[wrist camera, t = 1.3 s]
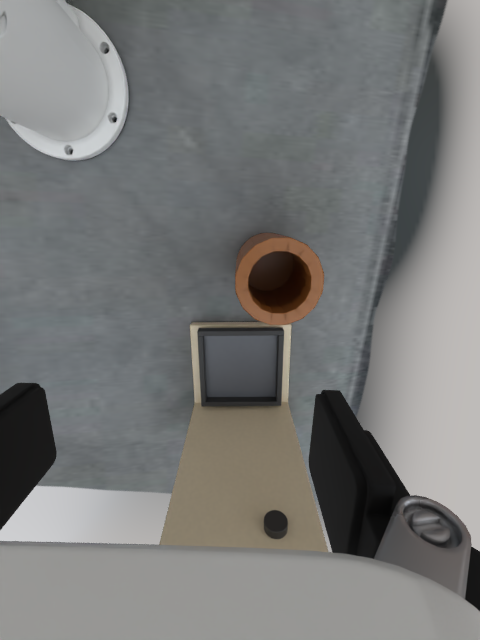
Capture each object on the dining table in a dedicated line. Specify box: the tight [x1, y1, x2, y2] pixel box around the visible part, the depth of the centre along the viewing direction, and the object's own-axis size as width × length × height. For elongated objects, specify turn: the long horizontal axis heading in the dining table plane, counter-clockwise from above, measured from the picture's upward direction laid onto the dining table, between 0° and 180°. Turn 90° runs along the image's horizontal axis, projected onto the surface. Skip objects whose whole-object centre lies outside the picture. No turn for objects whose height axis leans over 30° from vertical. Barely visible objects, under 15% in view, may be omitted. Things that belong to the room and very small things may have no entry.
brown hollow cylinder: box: [235, 233, 324, 325], centre depth 29 cm, size 7×7×12 cm
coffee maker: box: [159, 322, 328, 552], centre depth 28 cm, size 16×12×24 cm
